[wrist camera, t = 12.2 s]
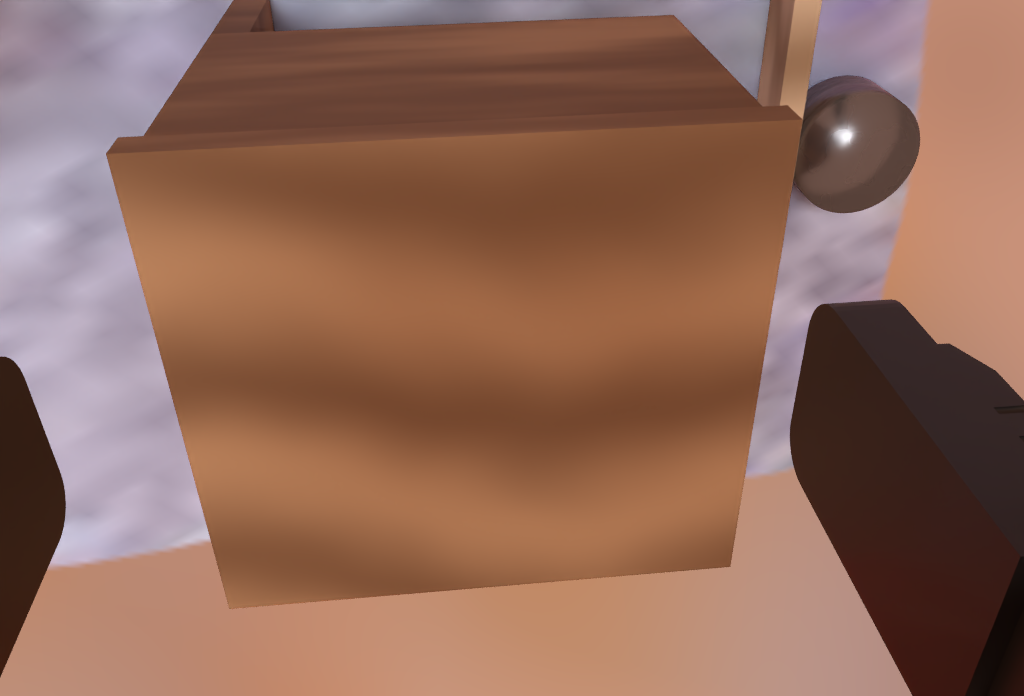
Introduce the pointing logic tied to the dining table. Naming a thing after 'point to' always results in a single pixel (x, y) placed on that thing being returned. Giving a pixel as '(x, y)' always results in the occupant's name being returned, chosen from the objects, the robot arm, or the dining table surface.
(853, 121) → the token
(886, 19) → the dining table surface
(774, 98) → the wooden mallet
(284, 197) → the bread box
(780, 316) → the dining table surface
